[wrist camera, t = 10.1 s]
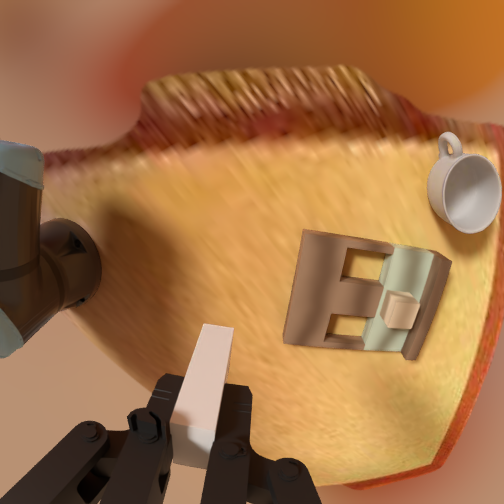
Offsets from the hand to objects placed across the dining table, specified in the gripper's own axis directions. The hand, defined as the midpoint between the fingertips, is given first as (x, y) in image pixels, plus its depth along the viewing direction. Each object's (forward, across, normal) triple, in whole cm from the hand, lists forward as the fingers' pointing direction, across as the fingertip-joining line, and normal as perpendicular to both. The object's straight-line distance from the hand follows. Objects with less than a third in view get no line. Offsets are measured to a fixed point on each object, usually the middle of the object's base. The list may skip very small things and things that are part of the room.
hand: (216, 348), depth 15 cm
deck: (+28, +18, -8) cm, 35 cm away
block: (+26, +23, -8) cm, 36 cm away
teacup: (+29, +28, +12) cm, 42 cm away
